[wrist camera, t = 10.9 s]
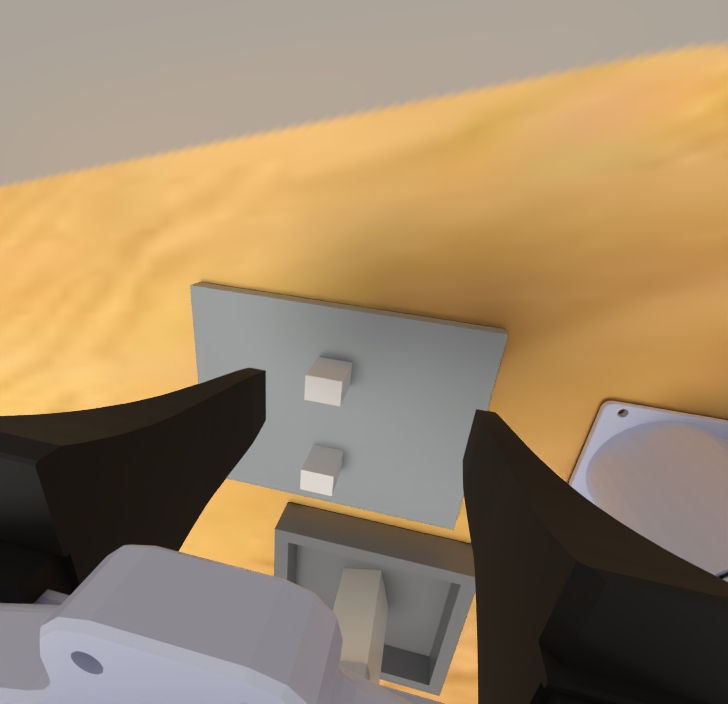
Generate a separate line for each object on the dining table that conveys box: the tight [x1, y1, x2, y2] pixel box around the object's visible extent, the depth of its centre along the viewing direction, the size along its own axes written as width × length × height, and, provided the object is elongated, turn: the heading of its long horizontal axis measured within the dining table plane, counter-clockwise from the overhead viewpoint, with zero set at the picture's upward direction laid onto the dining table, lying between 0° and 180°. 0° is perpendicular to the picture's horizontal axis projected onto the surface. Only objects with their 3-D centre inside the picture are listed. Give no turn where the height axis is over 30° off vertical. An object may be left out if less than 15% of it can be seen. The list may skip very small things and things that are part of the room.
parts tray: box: [274, 502, 476, 696], centre depth 28 cm, size 14×14×2 cm
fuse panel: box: [190, 282, 508, 530], centre depth 22 cm, size 18×14×4 cm
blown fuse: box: [333, 568, 388, 684], centre depth 25 cm, size 3×4×7 cm
